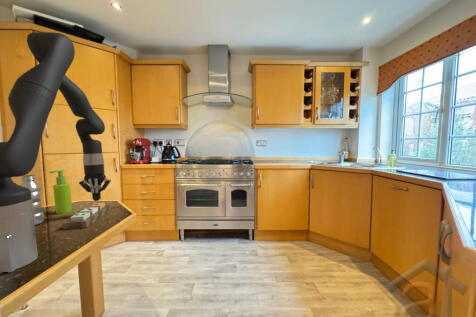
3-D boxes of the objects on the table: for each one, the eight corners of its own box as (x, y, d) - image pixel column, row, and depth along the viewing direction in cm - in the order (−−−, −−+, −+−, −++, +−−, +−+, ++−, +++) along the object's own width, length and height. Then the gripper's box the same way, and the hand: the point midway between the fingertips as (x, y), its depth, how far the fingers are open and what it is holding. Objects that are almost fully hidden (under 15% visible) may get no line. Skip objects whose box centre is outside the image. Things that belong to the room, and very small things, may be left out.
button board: (86, 227, 78) (86, 221, 78) (63, 229, 77) (62, 223, 76) (111, 209, 99) (110, 204, 98) (92, 210, 97) (92, 205, 97)
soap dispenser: (50, 214, 93) (45, 171, 91) (66, 209, 100) (62, 168, 98) (59, 215, 91) (54, 171, 90) (75, 210, 98) (71, 169, 96)
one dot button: (100, 212, 92) (100, 205, 92) (89, 212, 91) (89, 206, 91) (105, 208, 96) (104, 202, 96) (94, 209, 96) (94, 202, 95)
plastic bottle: (49, 221, 85) (44, 174, 83) (31, 228, 78) (25, 177, 76) (35, 221, 85) (30, 174, 83) (16, 228, 78) (10, 177, 77)
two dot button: (84, 223, 79) (83, 216, 79) (71, 224, 79) (70, 216, 78) (90, 219, 84) (89, 211, 83) (78, 220, 83) (77, 212, 83)
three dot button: (92, 217, 86) (92, 210, 85) (81, 218, 85) (80, 211, 85) (98, 213, 90) (97, 206, 90) (87, 214, 89) (86, 207, 89)
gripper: (72, 164, 87) (76, 204, 89) (105, 163, 89) (108, 202, 91) (82, 162, 94) (85, 198, 96) (113, 161, 97) (115, 197, 98)
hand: (97, 200), depth 94 cm, fingers closed
